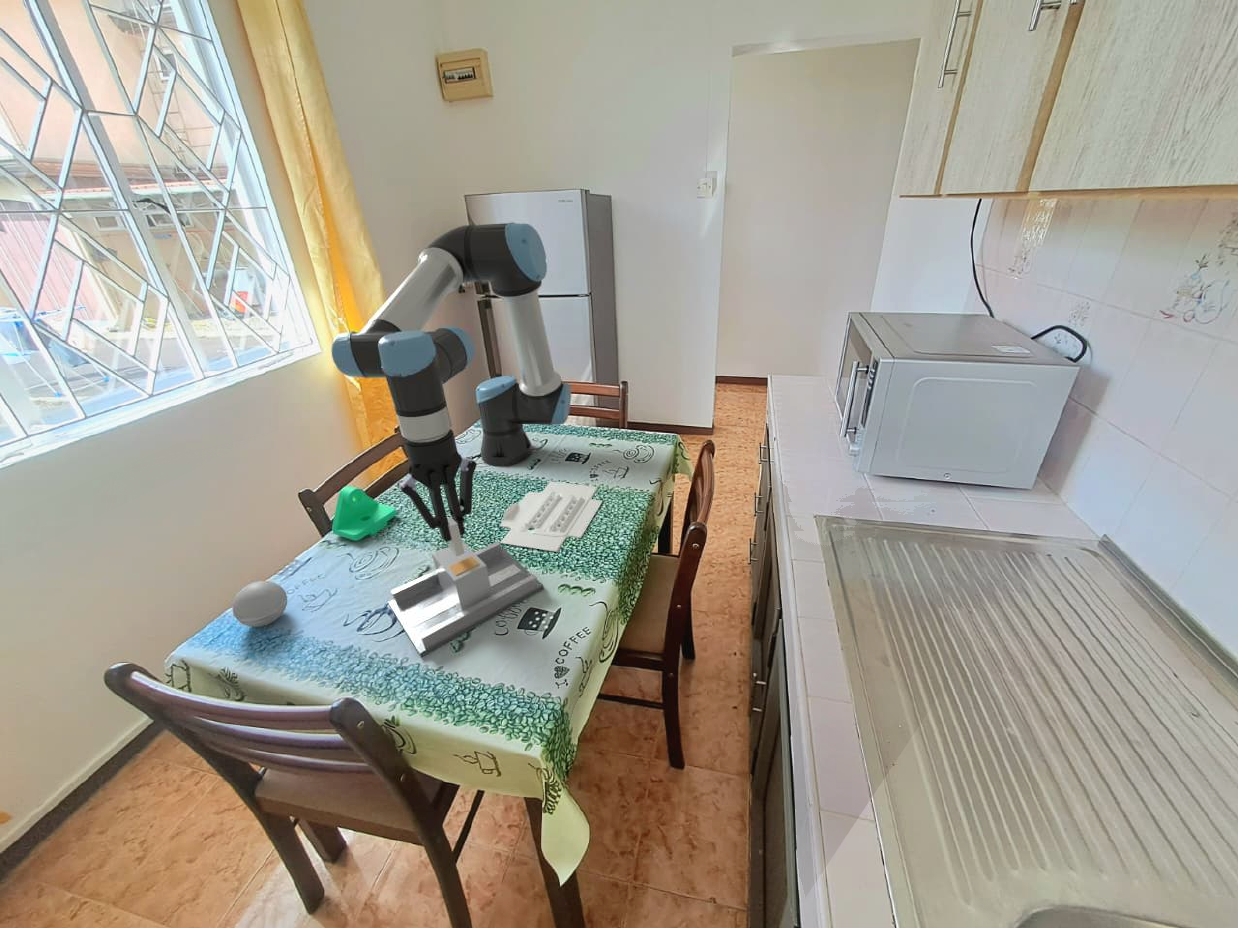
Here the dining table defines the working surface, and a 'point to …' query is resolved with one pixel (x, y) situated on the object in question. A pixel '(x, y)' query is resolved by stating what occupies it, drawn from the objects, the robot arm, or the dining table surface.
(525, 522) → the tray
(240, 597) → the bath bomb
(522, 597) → the rail
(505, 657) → the dining table surface
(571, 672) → the dining table surface
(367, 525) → the camera mount
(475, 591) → the module
